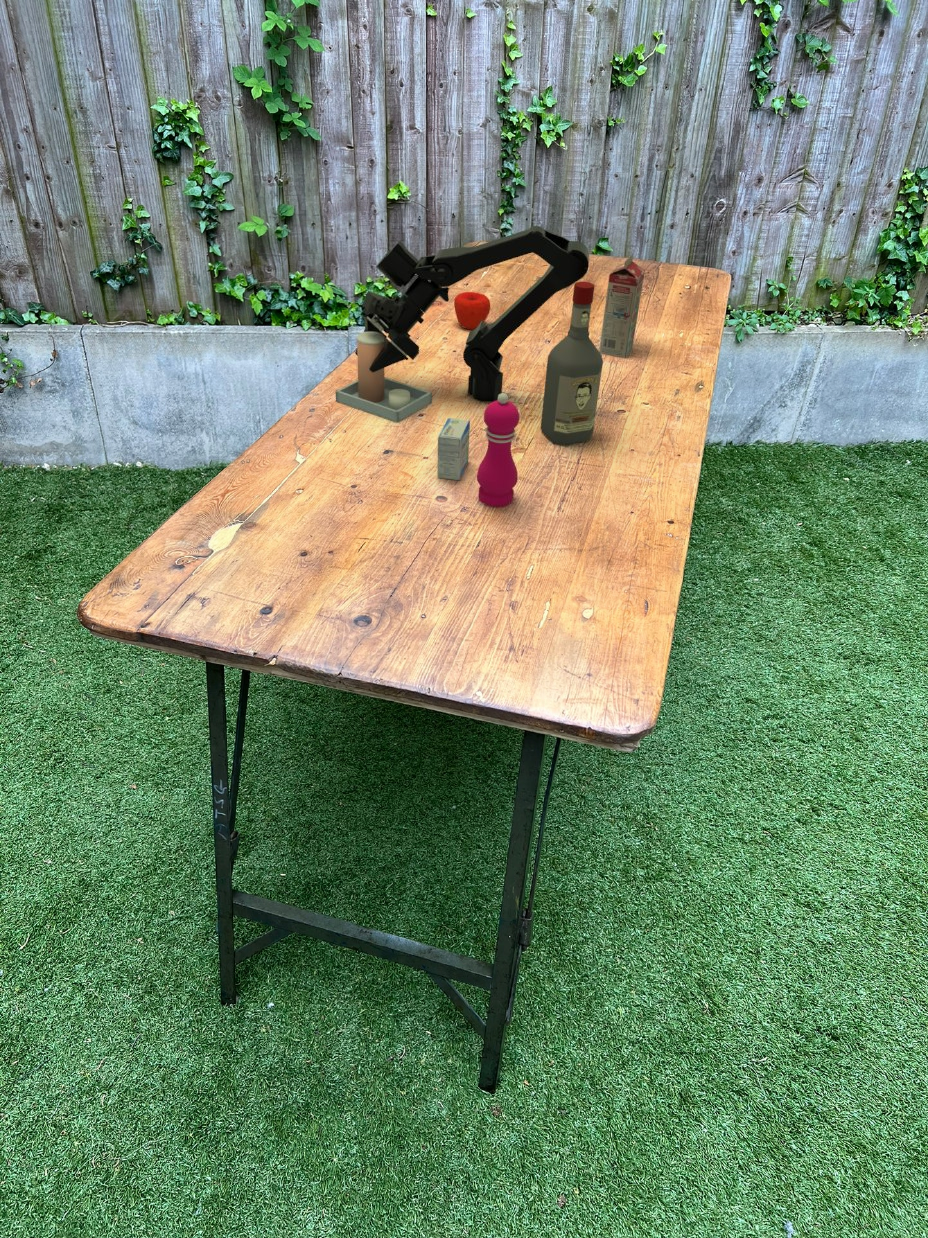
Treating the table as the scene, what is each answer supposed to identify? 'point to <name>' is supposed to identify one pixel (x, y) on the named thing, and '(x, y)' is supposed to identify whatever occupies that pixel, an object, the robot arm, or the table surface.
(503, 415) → the pepper mill
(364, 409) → the grey shallow tray
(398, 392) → the cream dome ball
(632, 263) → the juice carton
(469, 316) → the apple
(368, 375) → the coffee tin
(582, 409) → the liquor
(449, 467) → the medicine box
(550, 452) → the table surface
